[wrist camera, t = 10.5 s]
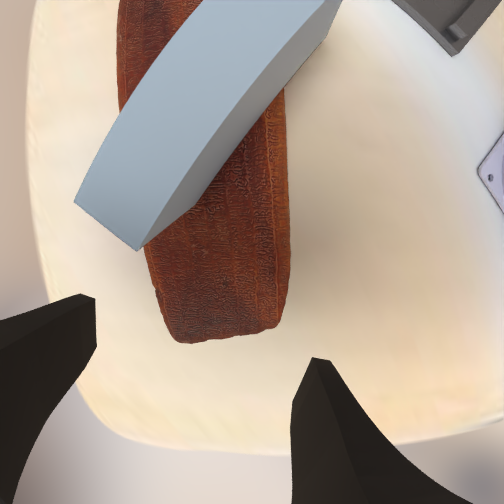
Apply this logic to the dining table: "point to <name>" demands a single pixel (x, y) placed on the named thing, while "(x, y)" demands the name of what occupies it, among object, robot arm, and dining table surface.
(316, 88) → the dining table surface
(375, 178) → the dining table surface
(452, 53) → the metal plate
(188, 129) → the pale blue upright panel
